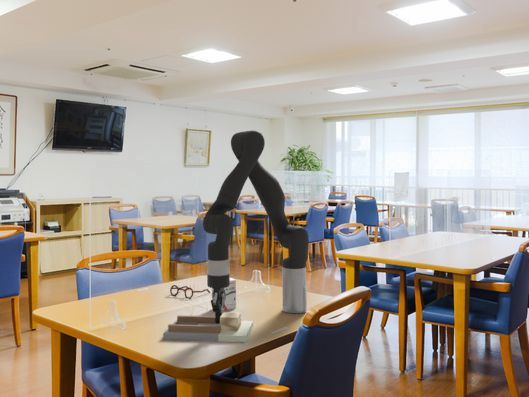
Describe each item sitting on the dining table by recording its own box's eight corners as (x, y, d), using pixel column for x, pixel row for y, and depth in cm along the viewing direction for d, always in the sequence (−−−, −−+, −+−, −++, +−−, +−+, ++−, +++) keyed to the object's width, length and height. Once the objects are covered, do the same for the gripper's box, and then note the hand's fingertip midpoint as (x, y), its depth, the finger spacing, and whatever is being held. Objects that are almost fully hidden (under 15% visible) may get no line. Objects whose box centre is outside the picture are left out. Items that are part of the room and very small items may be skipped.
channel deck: (253, 326, 181) (253, 315, 181) (245, 342, 165) (245, 329, 165) (177, 324, 185) (177, 313, 185) (163, 339, 169) (162, 327, 169)
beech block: (241, 325, 176) (240, 312, 176) (237, 331, 170) (237, 317, 170) (223, 325, 177) (223, 312, 177) (220, 330, 171) (219, 317, 171)
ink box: (217, 311, 201) (217, 282, 200) (211, 308, 205) (211, 279, 204) (236, 308, 205) (236, 279, 204) (230, 305, 209) (230, 277, 209)
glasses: (169, 296, 228) (169, 284, 227) (189, 290, 239) (189, 279, 238) (192, 300, 220) (191, 288, 220) (211, 293, 231) (211, 282, 231)
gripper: (225, 276, 166) (225, 329, 167) (233, 268, 179) (233, 317, 181) (202, 276, 167) (203, 328, 168) (212, 268, 180) (212, 317, 182)
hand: (218, 322), depth 174 cm, fingers closed
